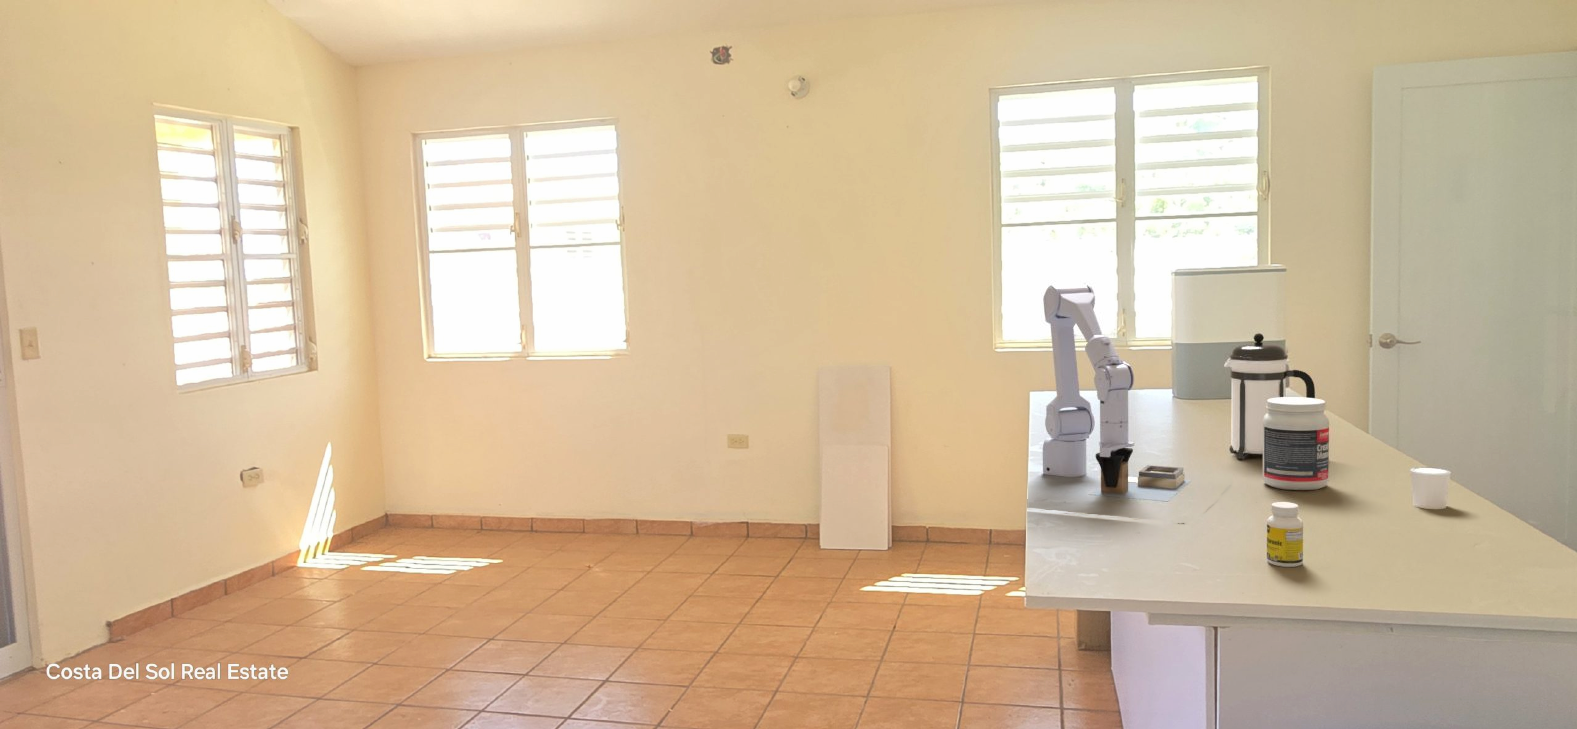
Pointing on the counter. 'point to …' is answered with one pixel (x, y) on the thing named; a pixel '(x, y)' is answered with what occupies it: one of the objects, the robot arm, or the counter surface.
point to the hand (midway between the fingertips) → (1114, 484)
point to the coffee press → (1257, 391)
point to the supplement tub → (1296, 443)
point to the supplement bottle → (1285, 535)
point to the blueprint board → (1144, 492)
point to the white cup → (1430, 487)
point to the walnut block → (1122, 481)
